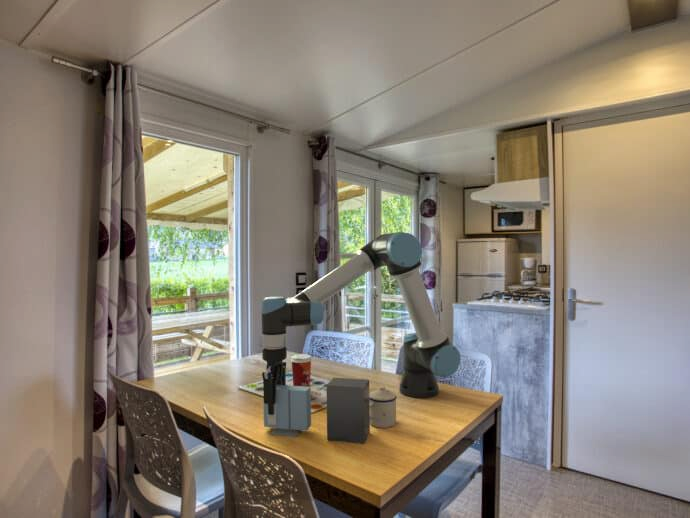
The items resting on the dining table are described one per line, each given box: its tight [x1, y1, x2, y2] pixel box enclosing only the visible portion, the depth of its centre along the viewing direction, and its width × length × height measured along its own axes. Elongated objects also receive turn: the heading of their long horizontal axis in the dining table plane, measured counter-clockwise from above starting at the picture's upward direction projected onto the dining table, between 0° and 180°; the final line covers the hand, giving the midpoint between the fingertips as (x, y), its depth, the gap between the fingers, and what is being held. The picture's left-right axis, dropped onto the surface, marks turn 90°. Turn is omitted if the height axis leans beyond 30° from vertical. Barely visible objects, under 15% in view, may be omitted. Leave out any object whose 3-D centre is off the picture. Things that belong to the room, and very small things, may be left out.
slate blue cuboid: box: [263, 384, 312, 432], centre depth 130 cm, size 14×4×12 cm, turn 76°
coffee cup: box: [290, 353, 313, 387], centre depth 163 cm, size 8×8×15 cm
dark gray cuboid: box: [323, 377, 371, 445], centre depth 126 cm, size 12×8×16 cm, turn 76°
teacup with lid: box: [369, 385, 397, 429], centre depth 134 cm, size 12×9×12 cm
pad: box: [270, 428, 302, 438], centre depth 130 cm, size 8×8×1 cm
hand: (275, 420), depth 131 cm, fingers closed on slate blue cuboid, 4 cm apart
